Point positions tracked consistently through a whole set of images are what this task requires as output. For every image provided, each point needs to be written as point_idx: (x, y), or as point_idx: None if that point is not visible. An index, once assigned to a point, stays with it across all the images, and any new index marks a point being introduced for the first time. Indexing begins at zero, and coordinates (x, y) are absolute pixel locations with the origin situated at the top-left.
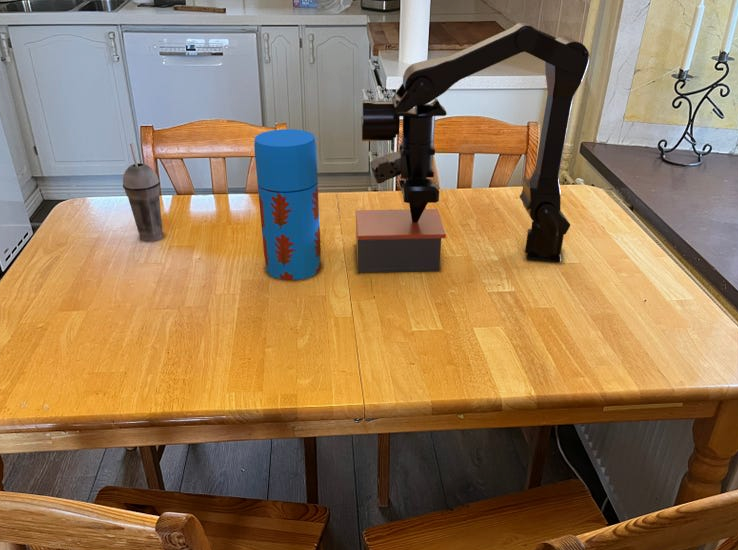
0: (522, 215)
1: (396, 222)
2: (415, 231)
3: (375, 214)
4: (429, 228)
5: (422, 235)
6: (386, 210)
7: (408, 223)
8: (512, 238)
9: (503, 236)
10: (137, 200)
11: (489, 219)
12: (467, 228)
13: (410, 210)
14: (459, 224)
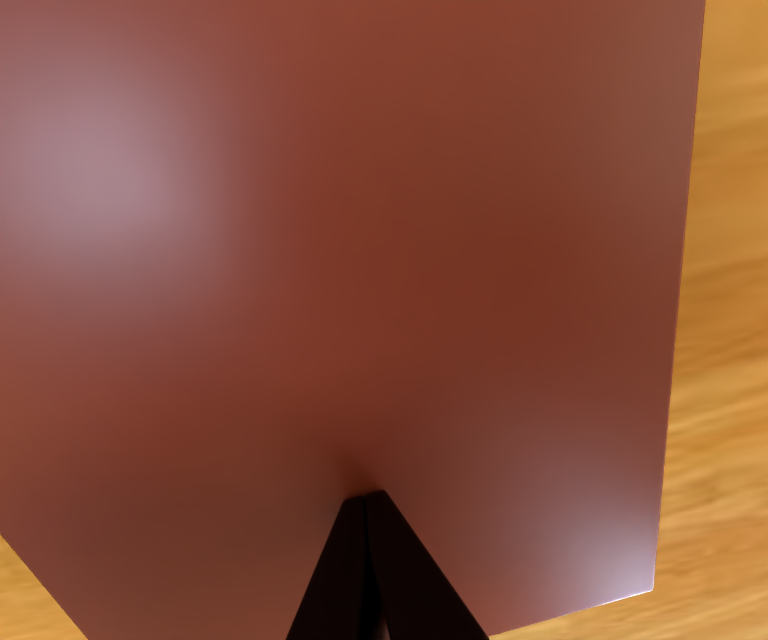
0: (755, 627)
1: (300, 356)
2: (116, 561)
3: (530, 21)
4: (237, 630)
5: (73, 611)
6: (667, 172)
7: (304, 470)
8: (573, 632)
9: (590, 610)
10: None
11: (744, 553)
12: (674, 502)
13: (319, 624)
14: (718, 471)
